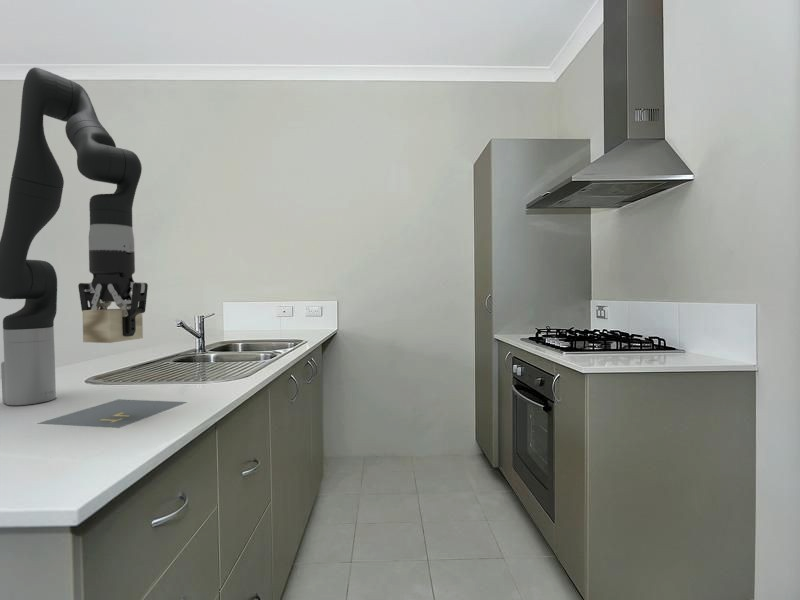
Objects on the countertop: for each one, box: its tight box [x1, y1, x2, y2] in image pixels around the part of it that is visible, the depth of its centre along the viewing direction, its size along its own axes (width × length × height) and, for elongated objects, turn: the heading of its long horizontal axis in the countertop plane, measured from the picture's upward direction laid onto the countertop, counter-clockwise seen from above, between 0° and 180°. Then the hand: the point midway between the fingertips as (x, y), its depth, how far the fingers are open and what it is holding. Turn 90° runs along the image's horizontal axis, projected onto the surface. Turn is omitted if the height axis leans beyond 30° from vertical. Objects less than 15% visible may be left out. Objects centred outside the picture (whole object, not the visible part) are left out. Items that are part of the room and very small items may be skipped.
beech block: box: [81, 308, 144, 344], centre depth 89 cm, size 6×8×6 cm
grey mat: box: [37, 398, 188, 429], centre depth 93 cm, size 18×19×1 cm
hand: (114, 335), depth 89 cm, fingers closed on beech block, 6 cm apart
